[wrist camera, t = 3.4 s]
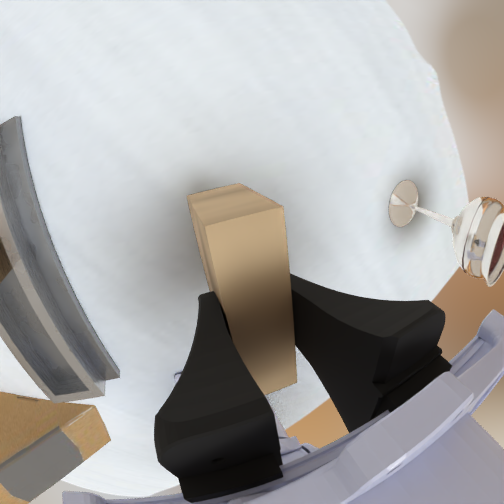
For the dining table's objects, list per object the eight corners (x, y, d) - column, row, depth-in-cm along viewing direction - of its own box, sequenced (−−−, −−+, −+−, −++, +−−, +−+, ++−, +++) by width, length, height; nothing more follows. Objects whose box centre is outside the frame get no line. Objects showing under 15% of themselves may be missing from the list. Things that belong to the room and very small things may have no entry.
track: (119, 371, 21) (120, 418, 16) (47, 385, 19) (39, 426, 14) (20, 116, 11) (-21, 113, 6) (-56, 169, 9) (-95, 183, 4)
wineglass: (401, 158, 22) (512, 189, 12) (429, 191, 25) (519, 228, 15) (372, 218, 24) (480, 274, 13) (404, 244, 27) (492, 295, 16)
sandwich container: (113, 440, 25) (128, 545, 12) (14, 427, 19) (7, 518, 6) (96, 403, 22) (104, 535, 9) (-14, 386, 16) (-36, 491, 3)
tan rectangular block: (262, 328, 16) (296, 382, 12) (224, 341, 15) (249, 400, 11) (239, 183, 12) (283, 206, 8) (186, 195, 11) (204, 226, 8)
